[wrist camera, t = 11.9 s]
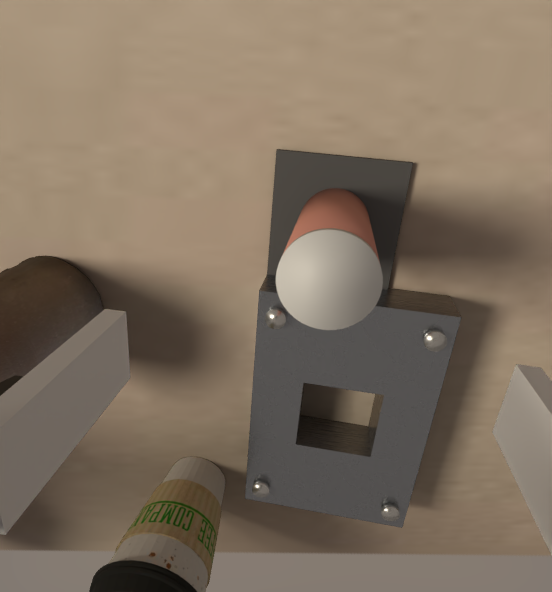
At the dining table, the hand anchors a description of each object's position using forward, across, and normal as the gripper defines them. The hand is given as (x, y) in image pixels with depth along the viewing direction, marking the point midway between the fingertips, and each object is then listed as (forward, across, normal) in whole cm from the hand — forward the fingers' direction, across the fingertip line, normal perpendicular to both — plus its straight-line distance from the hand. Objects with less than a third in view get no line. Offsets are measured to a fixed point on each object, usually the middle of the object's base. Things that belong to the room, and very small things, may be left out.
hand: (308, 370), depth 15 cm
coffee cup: (+22, -10, -30) cm, 38 cm away
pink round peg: (+21, +1, 0) cm, 21 cm away
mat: (+21, +1, 0) cm, 21 cm away
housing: (+22, +3, -16) cm, 27 cm away
